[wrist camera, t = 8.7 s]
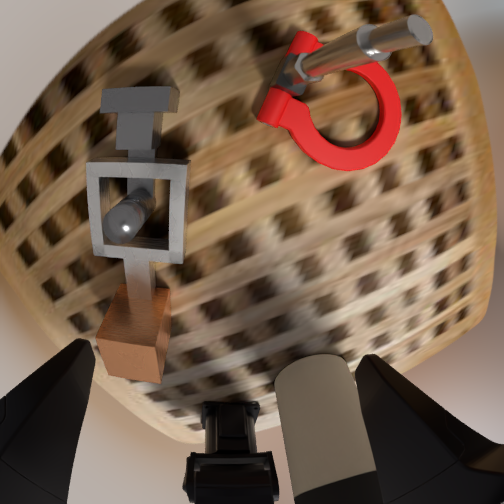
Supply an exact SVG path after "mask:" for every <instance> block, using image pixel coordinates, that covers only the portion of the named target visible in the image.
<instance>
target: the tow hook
mask: <svg viewBox="0 0 504 504" xmlns="http://www.w3.org/2000/svg"><path fill="white" fill-rule="evenodd" d="M432 40H433V32H432V29H431V27H430V25H429V24H428V23H427V22H426V21H425V20H424V19H423V18H422V17H420V16H418V15H410V16H407V17H404V18H401V19H398V20H395V21H393V22H390V23H387V24H385V25H382V26H379V27H377V26H375V25H370V24H367V25H363V26H361V27H359V28H357V29H354V30H352V31H350V32H348V33H346V34H344V35H342V36H340V37H338V38H337V39H335V40H333V41H331V42H329V43H327V44H325V45H323V44H321V43H319V42H318V39H317V38H316V37H315V36H314V35H312V34H310V33H308V32H305V31H298V32H297V33H296V35H295V37H294V39H293V41H292V43H291V45H290V47H289V49H288V51H287V53H286V56H285V57H284V58H283V59H282V60H281V62H280V64H279V66H278V69H277V71H276V73H275V75H274V77H273V79H272V81H271V84H270V90H269V92H268V94H267V96H266V98H265V101H264V103H263V105H262V107H261V109H260V112H259V114H258V116H257V120H258V121H260V122H261V123H263V124H266V125H268V126H271V127H275V128H278V126H280V127H283V128H285V129H287V130H289V132H290V134H291V137H292V139H293V140H294V141H295V142H296V144H297V145H298V146H299V147H300V149H301V150H302V151H303V152H304V153H305V154H307V155H308V156H309V157H311V158H312V159H313V160H315V161H316V162H318V163H320V164H323V165H325V166H327V167H330V168H332V169H337V170H344V171H352V170H360V169H364V168H366V167H368V166H371V165H373V164H375V163H377V162H378V161H379V160H380V159H381V158H383V157H384V156H385V155H386V154H387V153H388V151H389V150H390V149H391V147H392V146H393V144H394V143H395V140H396V138H397V135H398V133H399V130H400V123H401V105H400V98H399V95H398V93H397V90H396V87H395V84H394V83H393V81H392V80H391V78H390V76H389V75H388V73H387V72H386V71H385V70H384V69H383V68H382V67H381V66H380V65H379V64H378V63H377V62H379V61H383V60H386V59H387V58H389V56H390V55H391V52H392V51H397V50H401V49H406V48H412V47H417V46H423V45H428V44H430V43H431V42H432ZM342 70H348V71H352V72H354V73H356V74H358V75H360V76H361V77H363V78H364V79H365V80H366V81H367V82H368V83H369V84H370V85H371V87H372V88H373V90H374V91H375V93H376V96H377V99H378V101H379V108H380V115H379V122H378V125H377V127H376V130H375V131H374V133H373V134H372V135H371V137H370V138H369V139H368V140H366V141H365V142H364V143H362V144H360V145H357V146H355V147H347V148H343V147H338V146H335V145H333V144H331V143H329V142H328V141H327V140H326V139H324V138H323V137H322V136H321V135H320V134H319V132H318V131H317V130H316V128H315V127H314V124H313V122H312V119H311V117H310V111H309V107H308V106H307V105H306V104H304V103H302V102H300V101H298V100H296V99H294V98H292V97H293V96H298V95H302V94H303V92H304V90H305V88H306V86H307V85H308V84H312V83H316V82H319V81H321V80H322V79H323V78H324V75H327V74H331V73H334V72H338V71H342Z"/></svg>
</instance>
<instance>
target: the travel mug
mask: <svg viewBox="0 0 504 504" xmlns="http://www.w3.org/2000/svg"><path fill="white" fill-rule="evenodd" d="M274 386H275V392H276V398H277V403H278V409H279V415H280V421H281V427H282V432H283V438H284V444H285V449H286V455H287V461H288V466H289V473H290V478H291V484H292V490H293V495H294V501H295V504H384V502H383V498H382V493H381V488H380V484H379V479H378V475H377V471H376V467H375V462H374V458H373V454H372V450H371V446H370V443H369V439H368V435H367V431H366V428H365V424H364V420H363V417H362V413H361V408H360V402H359V396H358V390H357V387H356V384H355V382H354V380H353V377H352V375H351V372H350V370H349V368H348V365H347V363H346V362H345V360H344V359H342V358H341V357H339V356H336V355H330V354H320V355H313V356H309V357H305V358H302V359H300V360H297V361H295V362H293V363H292V364H290V365H288V366H287V367H286V368H284V369H283V370H282V371H281V372H280V373H279V374H278V376H277V377H276V379H275V383H274Z"/></svg>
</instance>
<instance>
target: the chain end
mask: <svg viewBox="0 0 504 504" xmlns="http://www.w3.org/2000/svg"><path fill="white" fill-rule="evenodd" d="M190 166H191V160H181V159H162V158H130V157H97V158H95V159H93V160H90V161H88V162H86V177H87V196H88V210H89V220H90V230H91V238H92V246H93V253H94V255H95V256H104V257H114V258H124V268H125V276H126V284H122V283H121V285H120V287H119V289H118V291H117V293H116V295H115V297H114V299H113V301H112V303H111V305H110V307H109V309H108V311H107V313H106V315H105V318H104V320H103V322H102V324H101V326H100V329H99V331H98V333H97V335H96V341H97V344H98V347H99V350H100V353H101V356H102V359H103V361H104V364H105V367H106V369H107V372H108V375H111V376H116V377H121V378H127V379H133V380H139V381H145V382H152V383H160V384H161V381H162V375H163V370H164V364H165V358H166V353H167V348H168V343H169V337H170V332H171V327H172V323H171V305H170V289H168V288H158V287H156V280H155V262H165V263H176V264H183V261H184V257H185V253H186V232H187V210H188V193H189V178H190ZM109 177H127V178H152V179H170V180H171V181H170V207H169V239H163V238H151V237H138V236H134V238H133V239H132V240H131V241H130V242H128V243H125V244H117V243H115V242H113V241H111V240H110V239H109V238H108V237H107V236H106V234H105V233H104V230H103V219H104V217H105V215H106V214H107V213H108V212H109V211H110V198H109Z"/></svg>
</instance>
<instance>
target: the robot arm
mask: <svg viewBox="0 0 504 504" xmlns="http://www.w3.org/2000/svg"><path fill="white" fill-rule="evenodd" d="M94 367H95V356H94V353H93V350H92V347H91V344H90V342H89V341H88V340H85V339H81V338H78V339H76V340H74V341H73V342H72V343H70V344H69V345H68V346H66V347H65V348H64V349H62V350H61V351H60V352H59V353H57V354H56V355H55V356H53V357H52V358H51V359H50V360H48V361H47V362H46V363H44V364H43V365H42V366H41V367H39V368H38V369H37V370H36V371H35V372H33V373H32V374H31V375H29V376H28V377H27V378H26V379H24V380H23V381H22V382H21V383H19V384H18V385H17V386H16V387H15V388H13V389H12V390H11V391H10V392H9V393H7V394H6V396H4V397H2V398H1V399H0V504H67V498H68V491H69V485H70V479H71V473H72V468H73V462H74V458H75V453H76V448H77V444H78V440H79V435H80V431H81V427H82V423H83V419H84V416H85V412H86V408H87V404H88V400H89V394H90V388H91V383H92V378H93V372H94ZM355 379H356V384H357V390H358V396H359V402H360V408H361V413H362V417H363V420H364V424H365V428H366V431H367V435H368V439H369V443H370V446H371V450H372V454H373V458H374V462H375V467H376V471H377V475H378V479H379V484H380V488H381V493H382V498H383V502H384V504H504V444H498V443H495V442H492V441H490V440H489V439H487V438H486V437H484V436H482V435H481V434H479V433H477V432H476V431H474V430H473V429H471V428H470V427H468V426H467V425H465V424H464V423H462V422H461V421H460V420H458V419H457V418H456V417H454V416H453V415H452V414H451V413H449V412H448V411H447V410H445V409H444V408H443V407H442V406H440V405H439V404H438V403H437V402H435V401H434V400H433V399H432V398H430V397H429V396H428V395H426V394H425V393H424V392H423V391H421V390H420V389H419V388H418V387H416V386H415V385H414V384H413V383H411V382H410V381H409V380H408V379H406V378H405V377H404V376H403V375H401V374H400V373H399V372H397V371H396V370H395V369H394V368H392V367H391V366H390V365H389V364H387V363H386V362H385V361H384V360H382V359H381V358H380V357H379V356H377V355H376V354H368V355H364V356H363V358H362V360H361V361H360V363H359V365H358V367H357V369H356V371H355ZM259 410H260V405H259V404H248V403H216V402H204V403H203V404H202V428H203V429H205V453H196V452H191V454H190V456H189V457H187V465H186V473H185V477H184V482H183V490H184V491H185V492H186V493H187V496H188V498H189V501H190V503H195V504H274V501H278V500H279V484H278V478H277V474H276V469H275V464H274V460H273V455H272V451H267V452H260V453H257V446H256V437H255V427H254V426H255V423H256V420H257V417H258V413H259Z"/></svg>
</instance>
